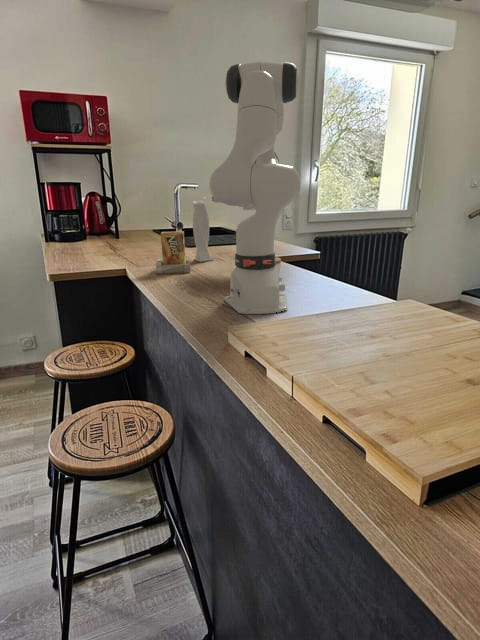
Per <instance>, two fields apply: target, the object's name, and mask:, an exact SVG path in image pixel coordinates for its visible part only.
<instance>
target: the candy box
mask: <svg viewBox="0 0 480 640" xmlns="http://www.w3.org/2000/svg"><path fill="white" fill-rule="evenodd" d="M160 240H161V241H160V242H161V252H162V262H163V265H166V264H186V260H187V259H186V246H185V245H186V244H185V231H183V230H182V231H162V232H160Z"/></svg>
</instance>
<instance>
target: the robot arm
mask: <svg viewBox="0 0 480 640" xmlns="http://www.w3.org/2000/svg"><path fill="white" fill-rule="evenodd" d="M300 78H301V77H300V73H299V70H298V68H297V66H296V65H295V63H292V62H287V61H284V62H275V61H267V62H266V61H254V62H248V63H247V62H246V63H242V64H241V63H237V64H234V65H231V66H230V67H229V68H228V70H227V71H226V76H225V79H224V80H225V82H224V86H225V87H224V88H225V91H226V94H227V97H228V99H229V100H230V101H231V102H232V103H234V104H237V116H236V119H237V121H236V133H235V141H234V144H233V145H232V146H233V147H232V149H231V151H230V153H229V155H228V156H227V157H226V159H225V160H224V161H223V162H222V163H221V164H220V165H219V166H218V167H216V168H215V169H214V170H213V172H212V174H211V176H210V179H209V191H210V194H211V196H212V197H211V201H212V202H213V203H219V204H220V203H221V204H225V205H227V206H231V207H239V208H242V209H243V211H255V213H254V214H253V215H250V216H249V217H247V218H245V219H243V220H242V221H240V222H239V223H238V225H237V226H236V230H235V238H236V239H235V240H236V241H235V242H236V243H235V246H236V249H235V250H236V251H235V252H236V253H235V254H234V256H235V257H234V265H235V268H234V270H232V271H231V272H230V295H227V296H225V298H224V301H225V303H227V305H229V306H230V307H231V308H232V309H234V311H236V312H237V313H239V314H241V315H242V314H243V315H245V314H246V315H264V314H276V312H277V313H281V311H283V312H285V311H284V310H286V309H287V310H288V303H287V296H286V293H283V292H285V290H286V287H285V286H286V284H285V283H280V282H283V281H282V280H283V277H282V276H280V273H279V271H278V270H277V269H276V268H275V266H276V262H275V261H276V257H277V256H276V253H275V252H274V251H275V249H274V248H275V247H274V245H275V233H276V232H275V231H276V227H277V226H276V225H277V222H278V220H279V217H280V215H281V214H282V212H283V211H284V210H285V209H286V208H287V206H289V205H290V204H291V203H293V202H294V200H296V198H297V197H298V195H299V193H300V191H301V190H300V189H301V184H302V183H301V177H300V174H299V172H298V171H297V169H296V168H295V167H294V166H293V165H287V164H282V163H280V162H279V161H280V160H279V158H278V155H277V154H276V152H275V143H276V140H277V135H279V133H280V132H282V130H283V126H284V125H283V123H284V118H285V117H284V116H285V115H284V112H285V111H284V104H287V103H290V102H293V101H294V100H295V99H296V98H297V95H298V93H299V90H300V85H301V79H300ZM287 310H286V311H287Z"/></svg>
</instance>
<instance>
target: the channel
mask: <svg viewBox="0 0 480 640" xmlns="http://www.w3.org/2000/svg"><path fill="white" fill-rule="evenodd" d="M155 265H156V275H157V276H158V275H159V276H162V275H161V274H164V275H182V273H185V274H191V260H190V259H189V260H188V259H186V264H166V265H163V258H158V259H156V262H155Z"/></svg>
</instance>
